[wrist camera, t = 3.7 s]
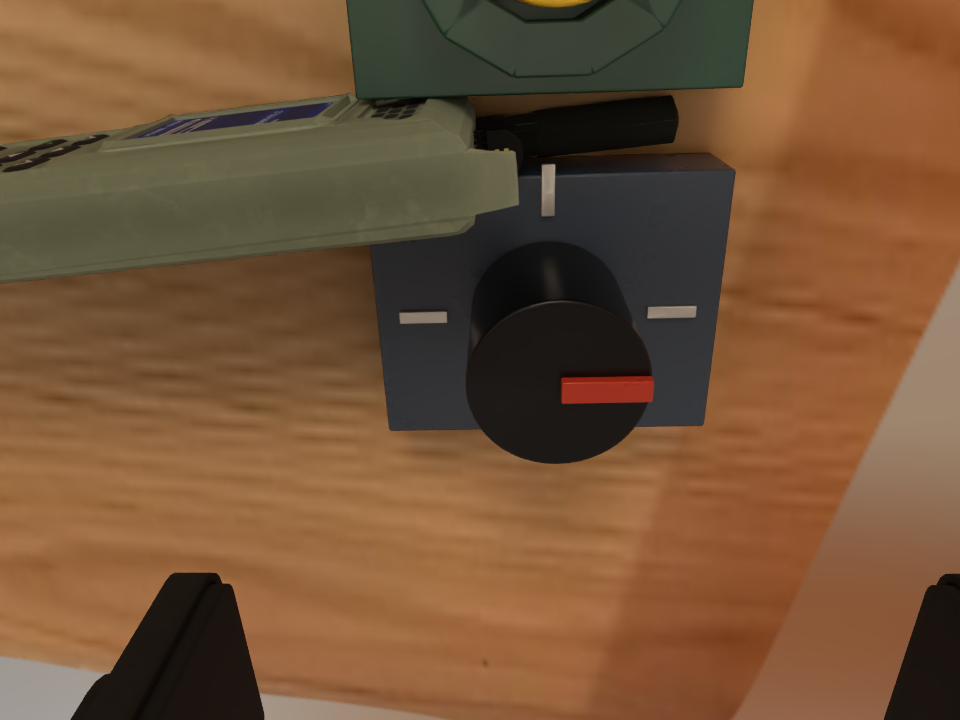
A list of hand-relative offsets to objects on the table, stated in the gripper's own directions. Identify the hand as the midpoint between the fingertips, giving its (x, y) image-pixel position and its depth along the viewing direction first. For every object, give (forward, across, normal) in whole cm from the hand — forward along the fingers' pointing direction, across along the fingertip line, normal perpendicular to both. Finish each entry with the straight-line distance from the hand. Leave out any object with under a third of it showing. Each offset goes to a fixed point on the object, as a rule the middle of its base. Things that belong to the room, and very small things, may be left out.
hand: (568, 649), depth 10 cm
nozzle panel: (+15, 0, 0) cm, 15 cm away
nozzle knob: (+12, 0, 0) cm, 12 cm away
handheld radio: (+15, +8, -4) cm, 18 cm away
